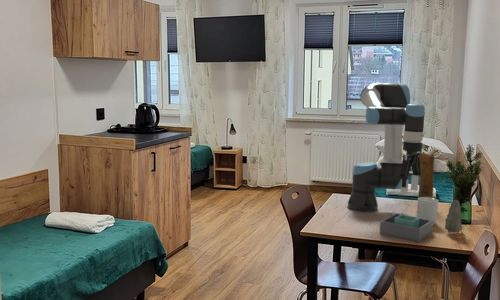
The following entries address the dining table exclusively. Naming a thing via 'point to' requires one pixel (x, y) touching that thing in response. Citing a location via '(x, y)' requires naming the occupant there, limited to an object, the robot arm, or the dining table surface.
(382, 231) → the grey crate
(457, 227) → the stone tool
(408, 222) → the block
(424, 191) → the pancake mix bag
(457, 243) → the dining table surface
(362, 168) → the robot arm
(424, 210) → the mug
